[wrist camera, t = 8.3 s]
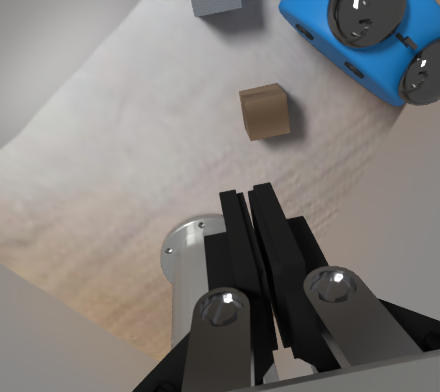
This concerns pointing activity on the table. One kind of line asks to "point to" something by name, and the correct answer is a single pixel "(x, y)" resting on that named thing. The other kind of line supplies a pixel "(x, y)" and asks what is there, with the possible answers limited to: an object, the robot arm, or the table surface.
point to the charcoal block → (214, 6)
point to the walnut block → (265, 111)
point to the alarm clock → (376, 43)
